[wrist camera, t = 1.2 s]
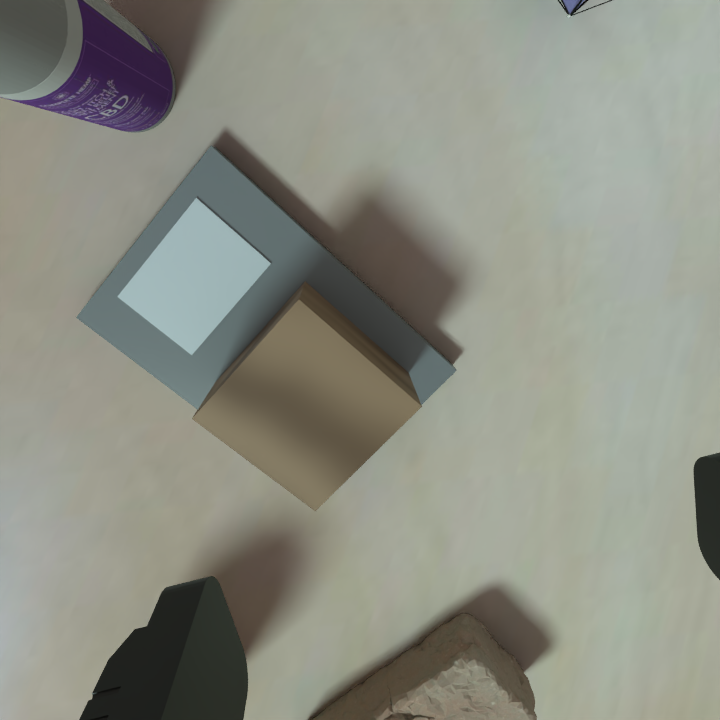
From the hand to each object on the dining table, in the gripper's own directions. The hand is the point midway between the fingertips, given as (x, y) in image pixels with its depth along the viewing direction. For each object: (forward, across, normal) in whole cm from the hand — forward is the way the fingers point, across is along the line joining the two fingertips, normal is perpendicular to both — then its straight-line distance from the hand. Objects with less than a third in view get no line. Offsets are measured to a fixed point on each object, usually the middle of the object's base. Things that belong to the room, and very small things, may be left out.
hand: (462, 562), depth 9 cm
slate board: (+23, +5, 0) cm, 23 cm away
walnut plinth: (+23, +4, +3) cm, 23 cm away
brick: (+25, +3, +30) cm, 39 cm away
